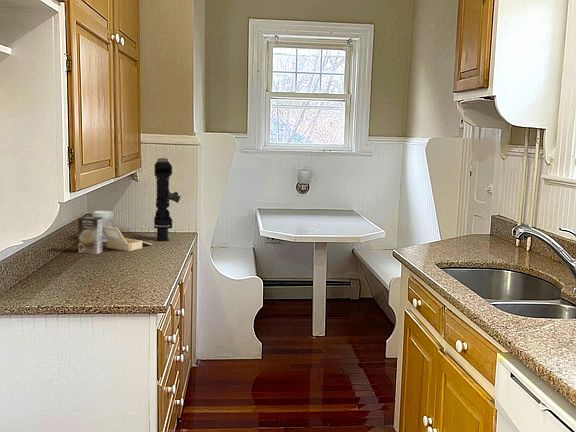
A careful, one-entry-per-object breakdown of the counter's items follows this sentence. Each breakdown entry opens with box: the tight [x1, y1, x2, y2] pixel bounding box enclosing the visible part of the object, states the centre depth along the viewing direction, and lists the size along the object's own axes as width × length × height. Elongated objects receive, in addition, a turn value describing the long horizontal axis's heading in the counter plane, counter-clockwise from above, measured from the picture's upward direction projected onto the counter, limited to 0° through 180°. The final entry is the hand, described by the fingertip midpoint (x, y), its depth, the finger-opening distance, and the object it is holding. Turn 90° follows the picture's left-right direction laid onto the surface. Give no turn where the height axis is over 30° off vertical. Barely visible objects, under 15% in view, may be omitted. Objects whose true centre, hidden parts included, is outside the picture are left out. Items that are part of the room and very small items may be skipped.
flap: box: [102, 226, 127, 243], centre depth 277 cm, size 10×12×1 cm
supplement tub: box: [92, 210, 114, 243], centre depth 300 cm, size 10×10×15 cm
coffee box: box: [78, 215, 103, 255], centre depth 272 cm, size 9×6×16 cm
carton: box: [106, 237, 154, 252], centre depth 288 cm, size 18×15×4 cm
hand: (162, 219), depth 292 cm, fingers closed
